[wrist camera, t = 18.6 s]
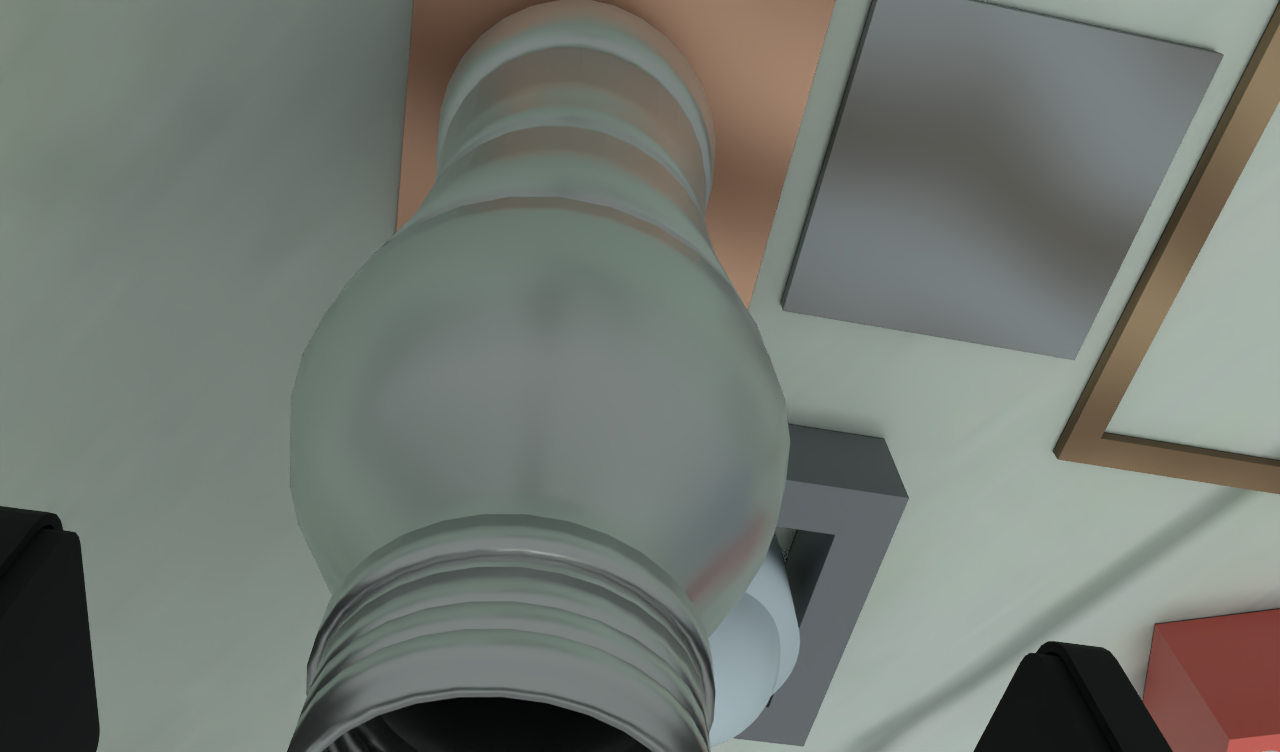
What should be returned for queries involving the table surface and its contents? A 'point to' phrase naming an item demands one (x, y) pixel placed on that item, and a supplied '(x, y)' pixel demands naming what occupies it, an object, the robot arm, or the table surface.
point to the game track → (944, 174)
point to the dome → (753, 649)
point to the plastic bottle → (539, 419)
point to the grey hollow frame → (828, 561)
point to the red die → (1217, 683)
